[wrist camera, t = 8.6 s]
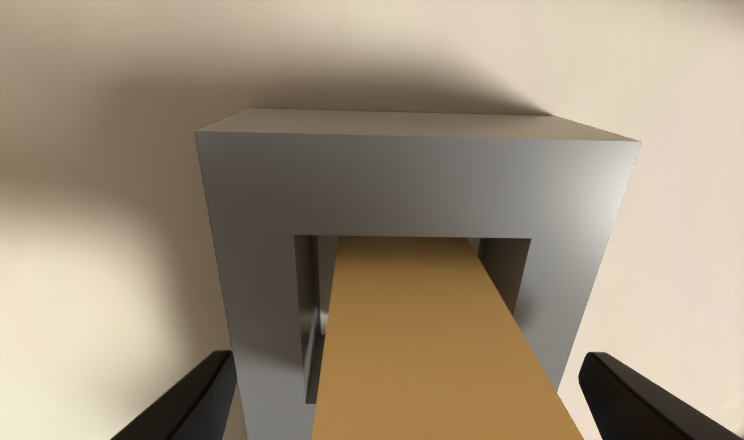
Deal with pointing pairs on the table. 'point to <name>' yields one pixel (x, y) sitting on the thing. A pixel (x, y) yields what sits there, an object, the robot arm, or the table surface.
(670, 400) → the robot arm
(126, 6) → the table surface
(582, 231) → the grey piece
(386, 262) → the amber plug
